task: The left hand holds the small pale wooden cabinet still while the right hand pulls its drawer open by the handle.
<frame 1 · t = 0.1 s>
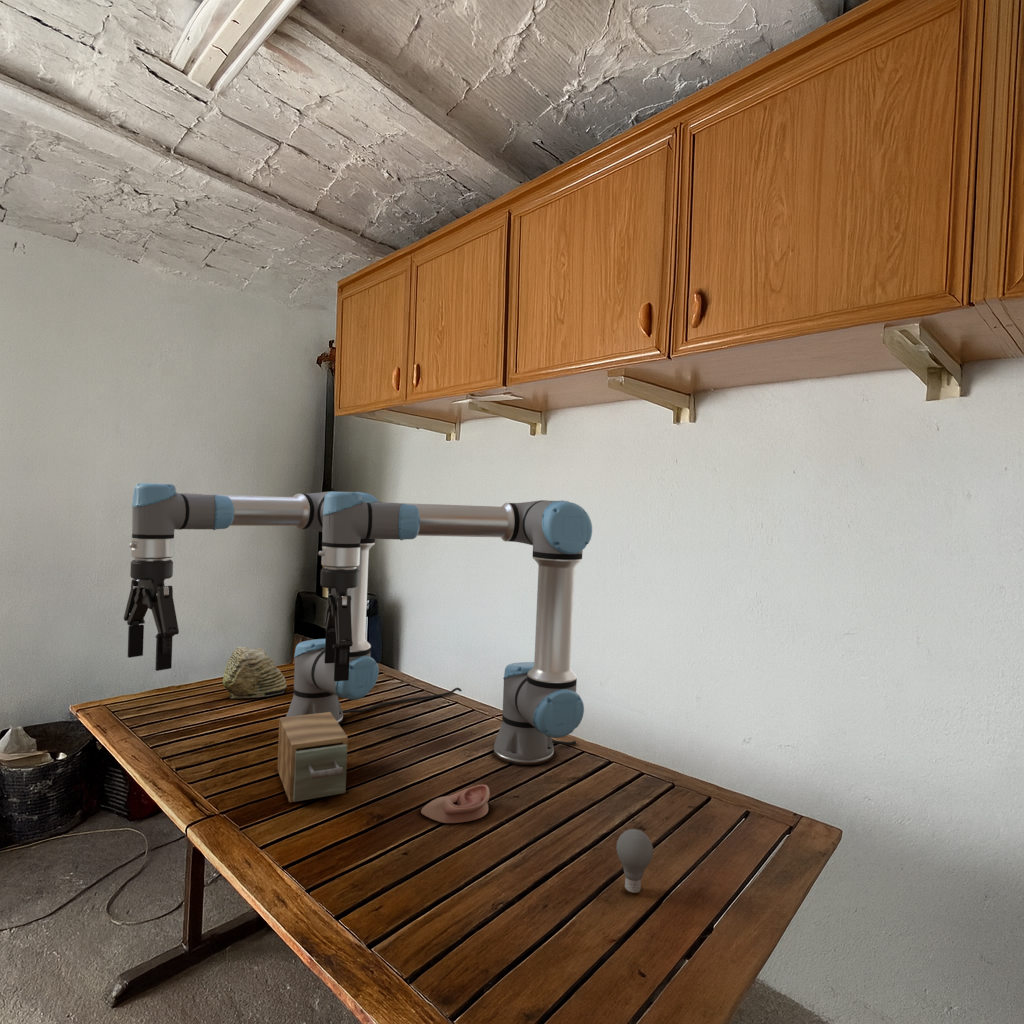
left hand: (148, 662, 129), 28 cm above the table, tool pointing down, fingers open, 13 cm apart
right hand: (336, 671, 129), 28 cm above the table, tool pointing down, fingers open, 13 cm apart
cabinet: (310, 780, 141), on the table
light bulb: (632, 891, 106), on the table
drawer: (316, 763, 136), point 6 cm above the table, slide at 1.0 cm
anatomical model: (455, 811, 130), on the table
fossil: (254, 694, 198), on the table
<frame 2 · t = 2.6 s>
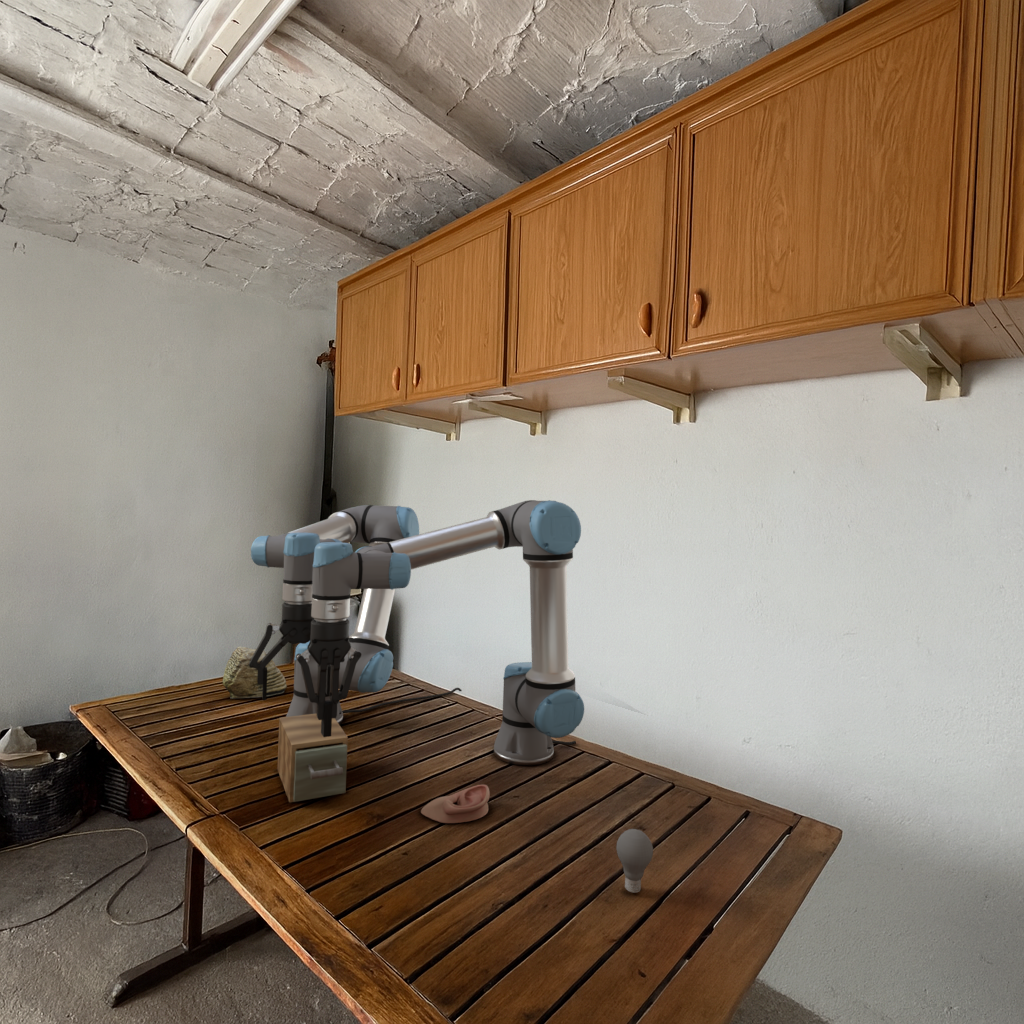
left hand: (296, 695, 143), 18 cm above the table, tool pointing down, fingers open, 13 cm apart
right hand: (326, 734, 129), 15 cm above the table, tool pointing down, fingers closed
nothing on the table moved.
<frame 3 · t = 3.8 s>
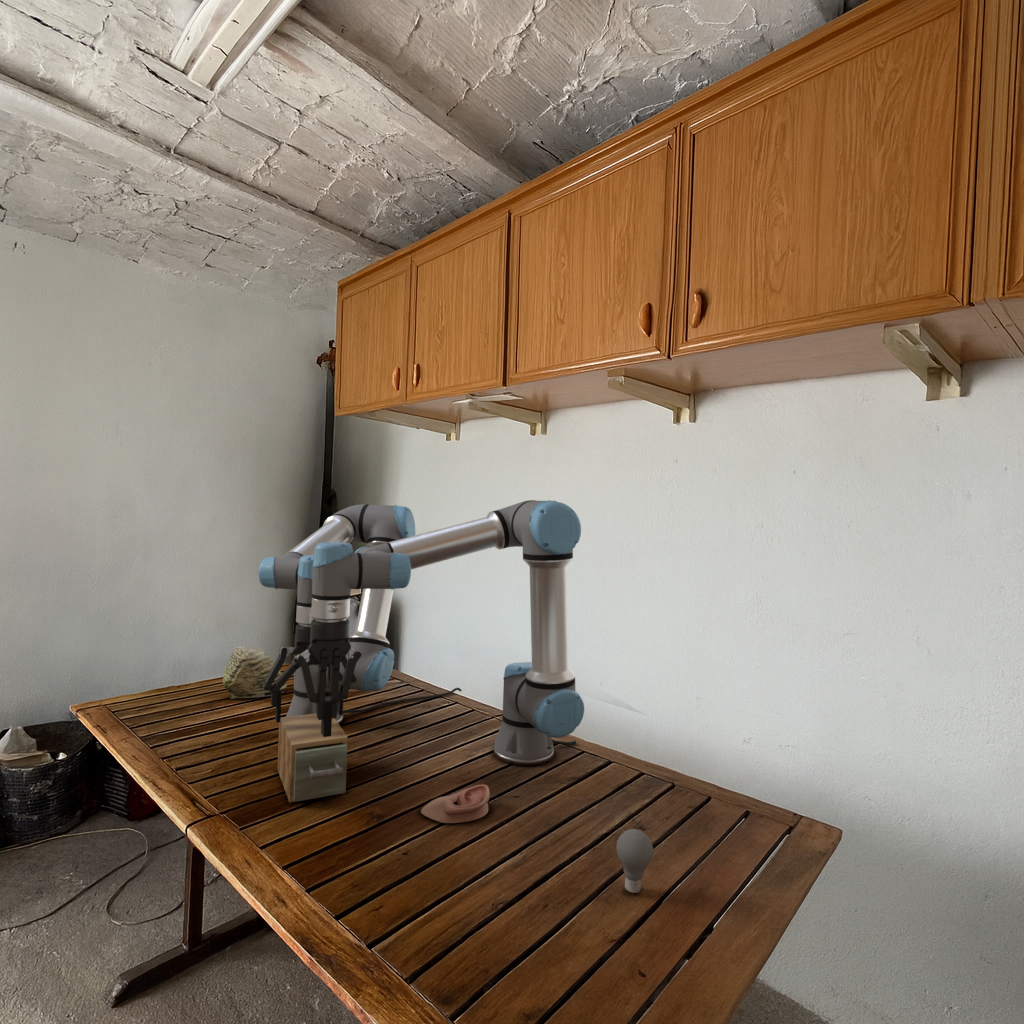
left hand: (309, 717, 144), 13 cm above the table, tool pointing down, fingers open, 13 cm apart
right hand: (326, 734, 129), 15 cm above the table, tool pointing down, fingers closed
nothing on the table moved.
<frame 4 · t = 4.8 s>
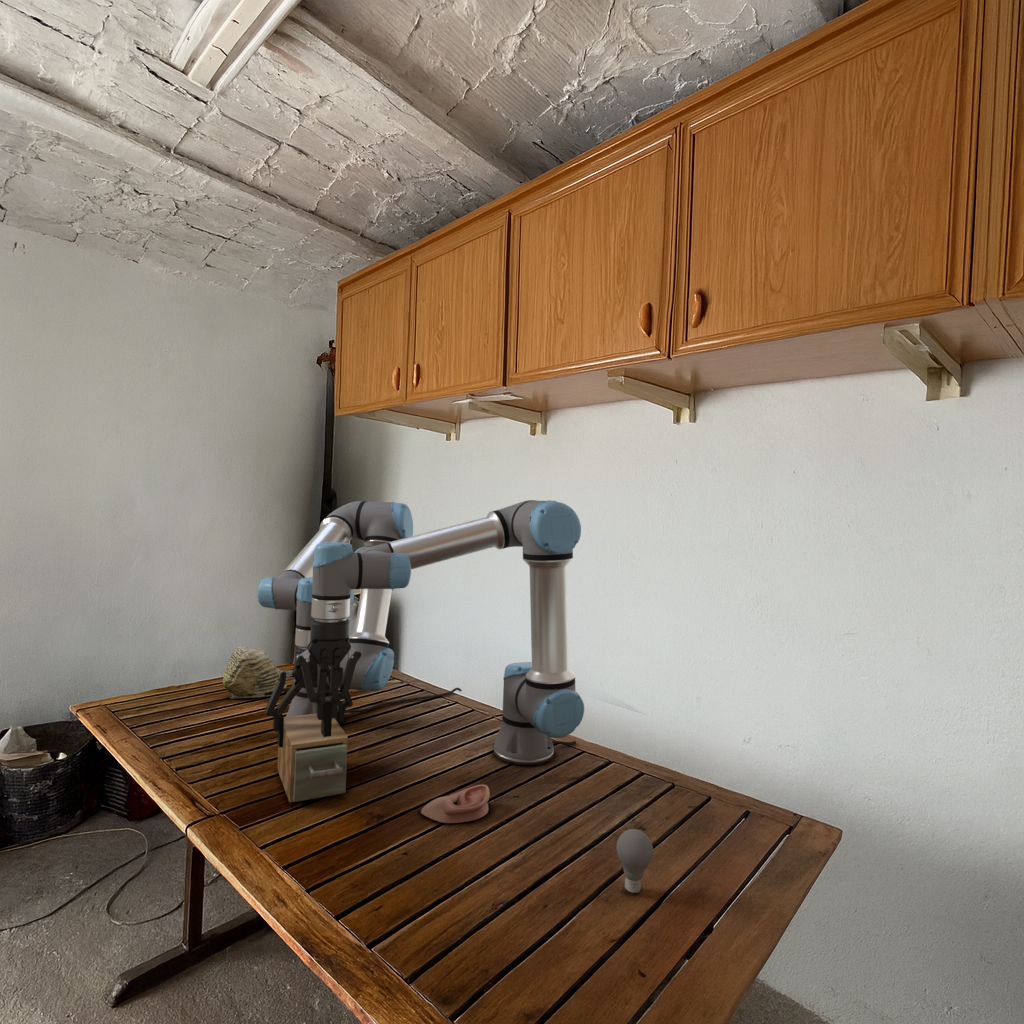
left hand: (308, 741, 144), 8 cm above the table, tool pointing down, fingers closed on cabinet, 12 cm apart
right hand: (326, 734, 129), 15 cm above the table, tool pointing down, fingers closed
cabinet: (310, 780, 141), on the table, touching left hand
everything else where it was.
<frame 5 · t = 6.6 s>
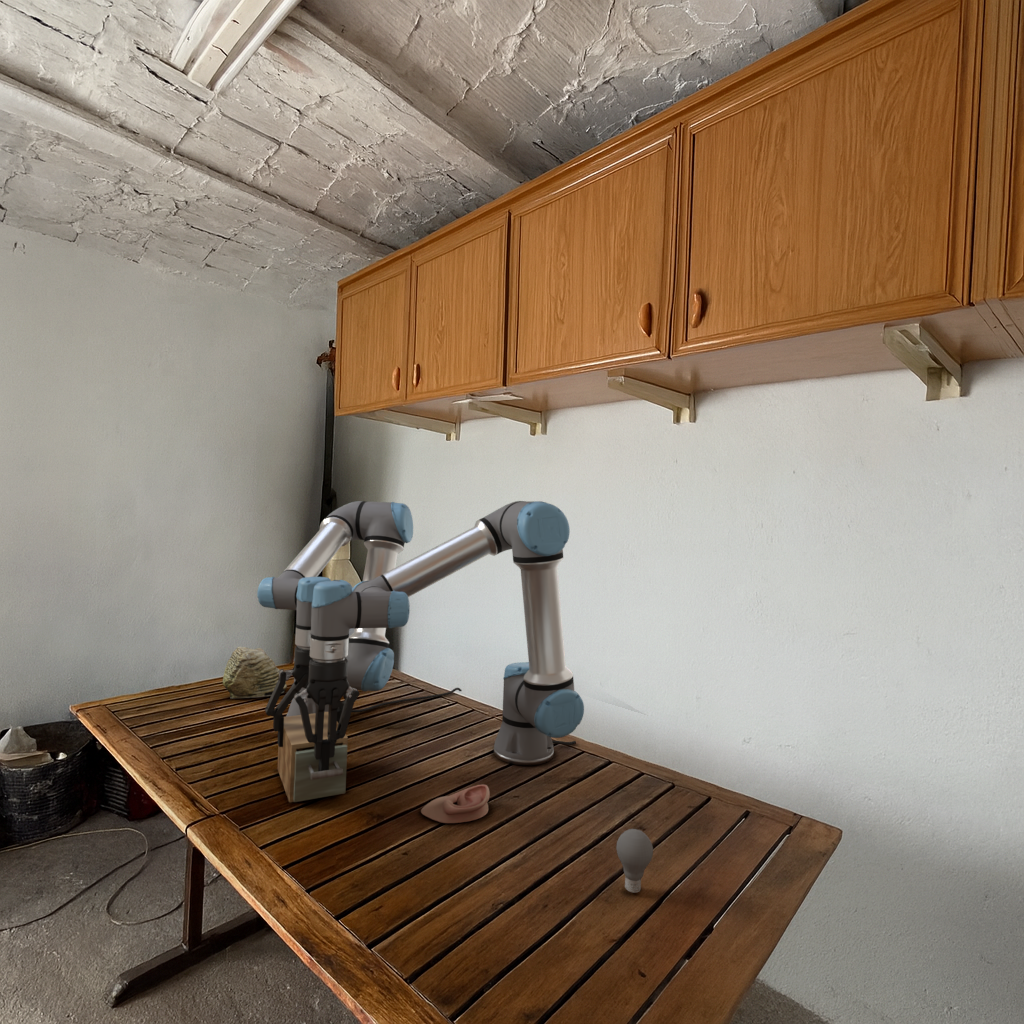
left hand: (308, 741, 144), 8 cm above the table, tool pointing down, fingers closed on cabinet, 12 cm apart
right hand: (323, 773, 129), 7 cm above the table, tool pointing down, fingers closed
cabinet: (310, 780, 141), on the table, touching left hand
drawer: (316, 764, 136), point 6 cm above the table, slide at 1.1 cm, touching right hand
everything else where it was.
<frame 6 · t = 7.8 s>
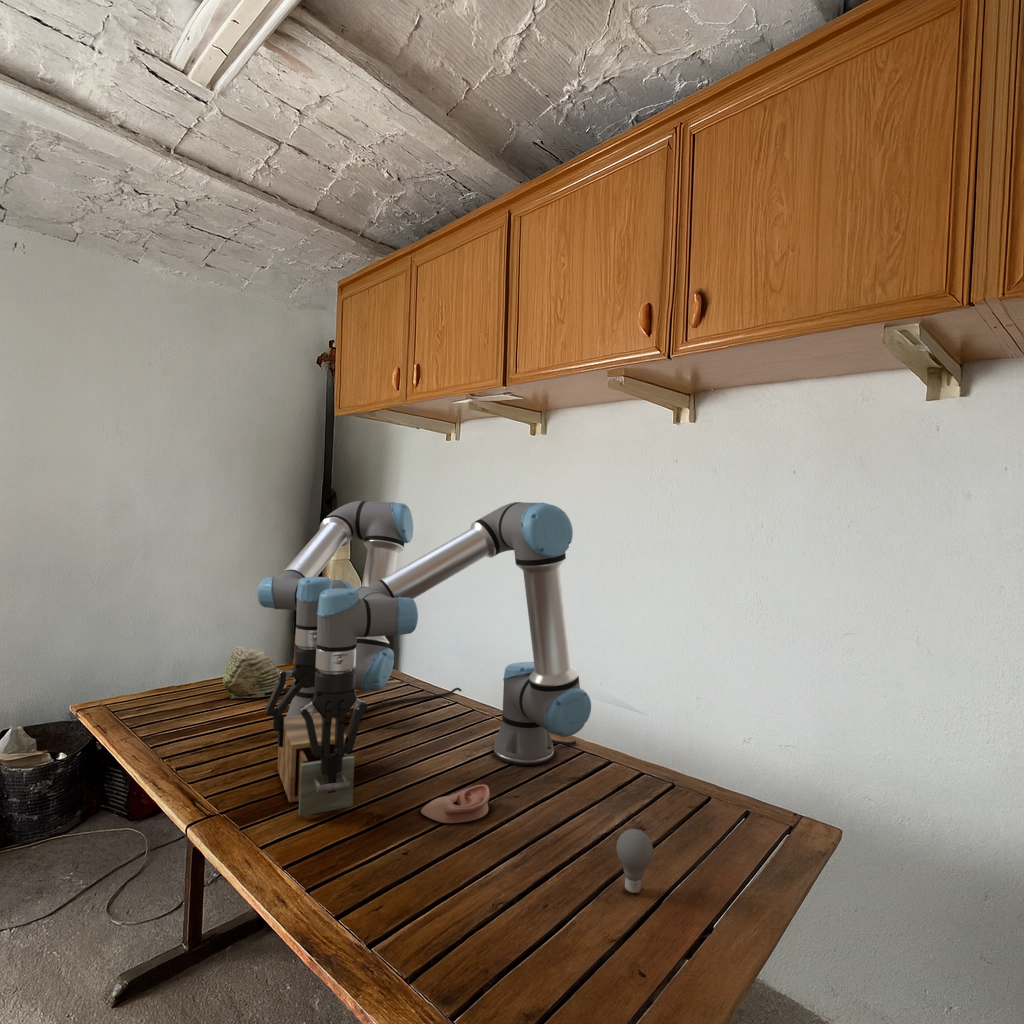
left hand: (308, 741, 144), 8 cm above the table, tool pointing down, fingers closed on cabinet, 12 cm apart
right hand: (330, 789, 123), 7 cm above the table, tool pointing down, fingers closed
cabinet: (310, 780, 141), on the table, touching left hand
drawer: (322, 775, 130), point 6 cm above the table, slide at 7.2 cm, touching right hand
everything else where it was.
when the left hand's fingers open (8 cm above the table, at t = 9.5 s): cabinet stays where it is, on the table.
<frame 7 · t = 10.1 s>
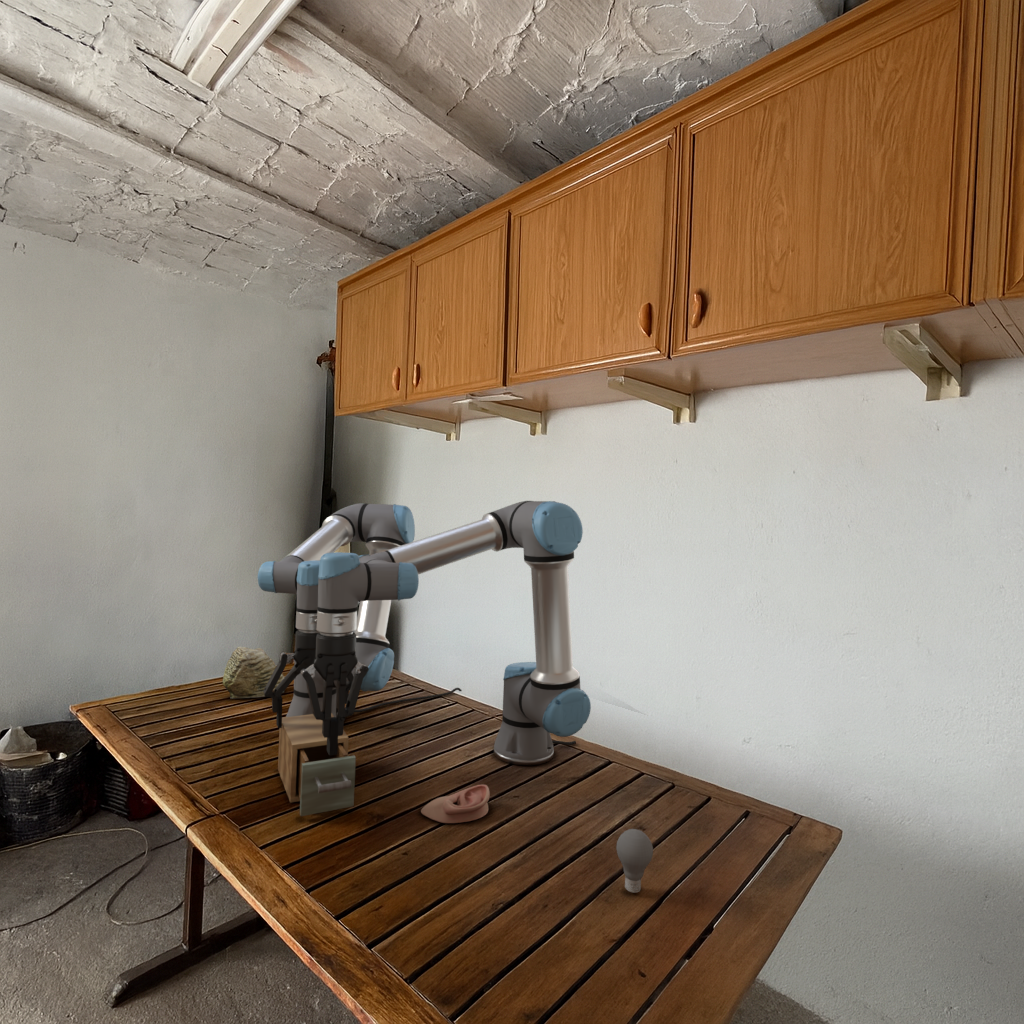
left hand: (310, 721, 144), 12 cm above the table, tool pointing down, fingers open, 13 cm apart
right hand: (331, 752, 124), 14 cm above the table, tool pointing down, fingers closed
cabinet: (311, 780, 141), on the table
drawer: (323, 775, 130), point 6 cm above the table, slide at 7.3 cm
everything else where it was.
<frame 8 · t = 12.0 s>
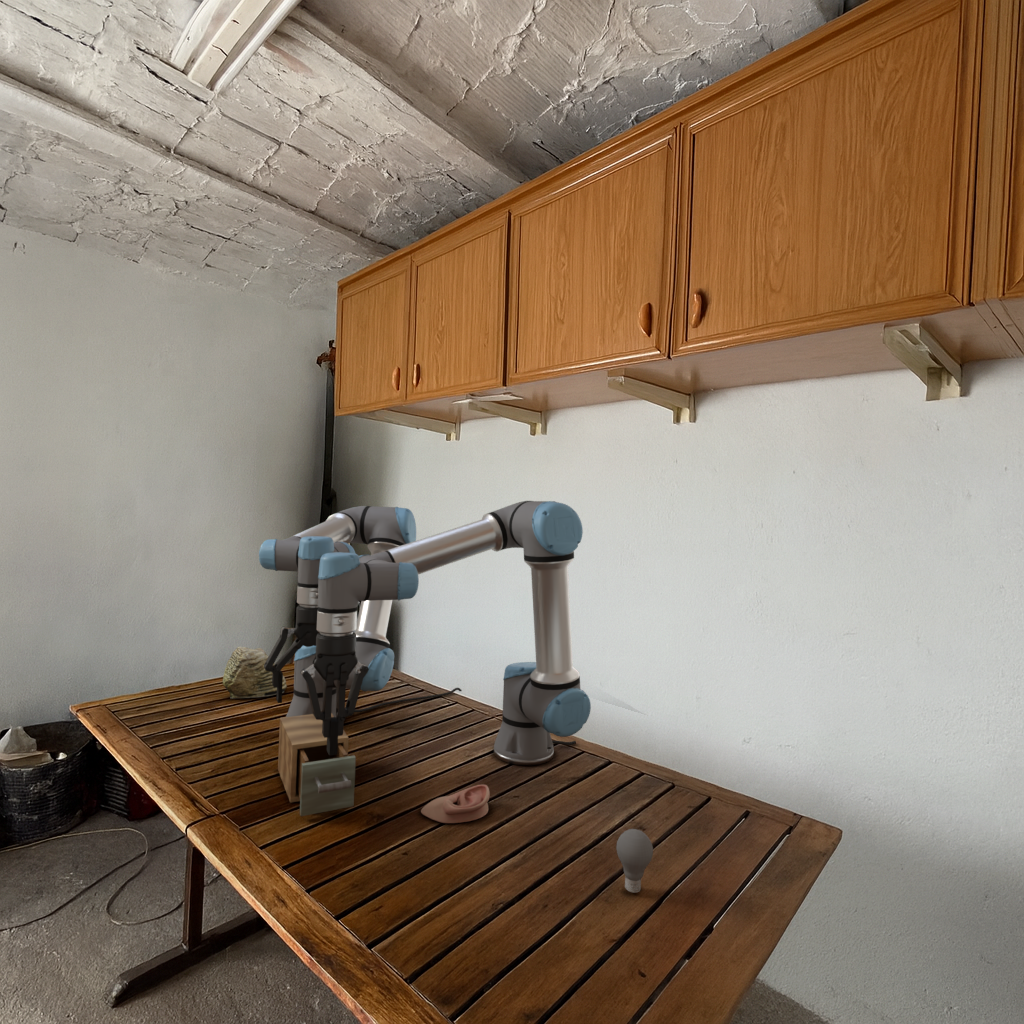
left hand: (310, 697, 144), 17 cm above the table, tool pointing down, fingers open, 13 cm apart
right hand: (331, 752, 124), 14 cm above the table, tool pointing down, fingers closed
nothing on the table moved.
at the end: drawer slide at 7.3 cm; cabinet tilted 0°; cabinet never tilted more than 1° during the clip; cabinet moved 0.2 cm from its start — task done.
